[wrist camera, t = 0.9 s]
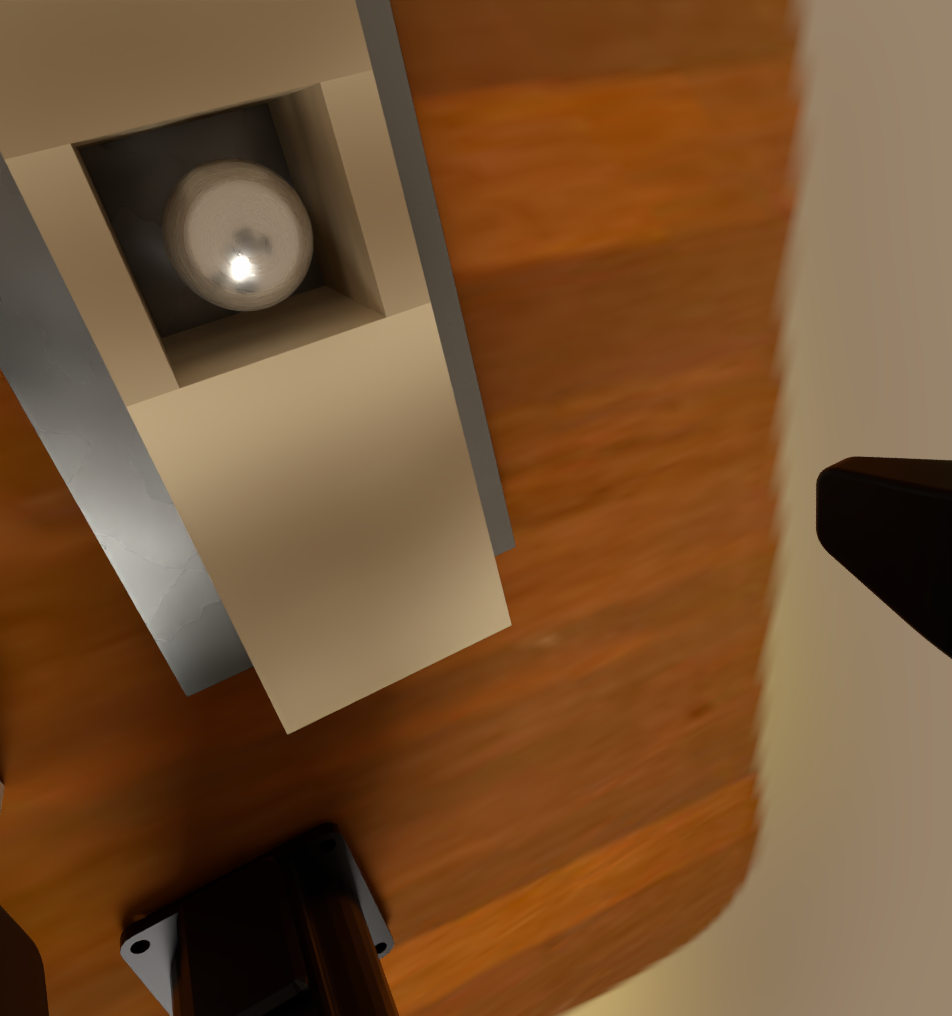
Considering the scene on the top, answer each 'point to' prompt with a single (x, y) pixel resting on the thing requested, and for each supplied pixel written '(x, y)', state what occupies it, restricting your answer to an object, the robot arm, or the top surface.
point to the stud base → (194, 302)
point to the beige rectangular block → (271, 340)
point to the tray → (1, 793)
